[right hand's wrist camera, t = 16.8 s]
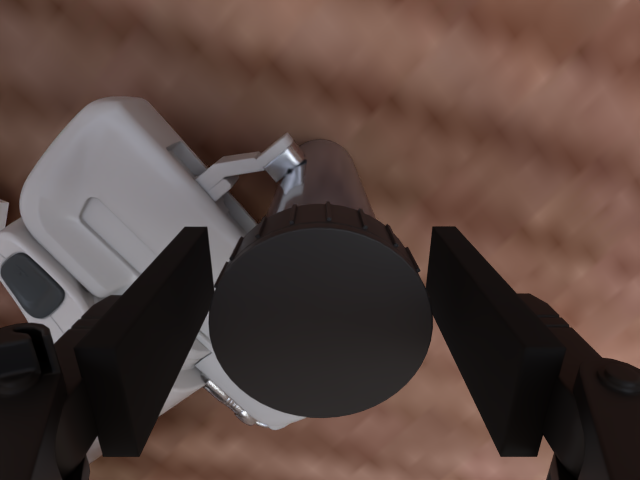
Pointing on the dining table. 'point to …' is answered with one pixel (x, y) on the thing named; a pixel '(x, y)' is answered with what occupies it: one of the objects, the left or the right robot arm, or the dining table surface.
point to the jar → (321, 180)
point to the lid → (320, 312)
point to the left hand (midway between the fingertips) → (333, 191)
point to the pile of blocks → (3, 213)
